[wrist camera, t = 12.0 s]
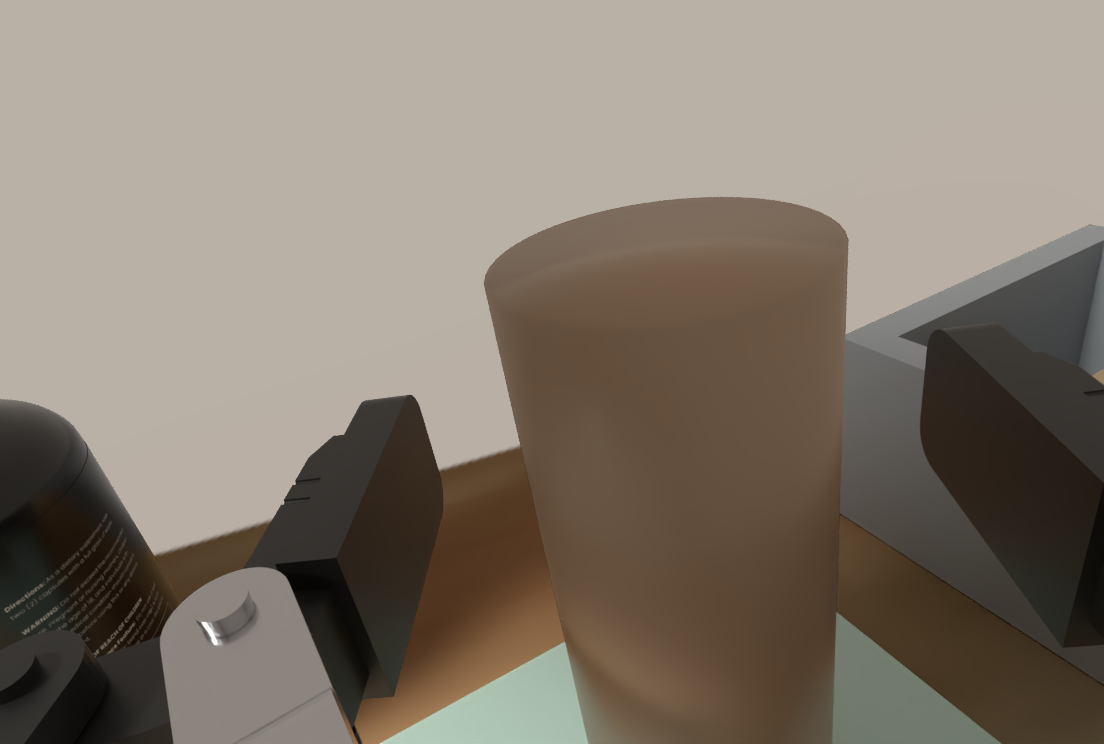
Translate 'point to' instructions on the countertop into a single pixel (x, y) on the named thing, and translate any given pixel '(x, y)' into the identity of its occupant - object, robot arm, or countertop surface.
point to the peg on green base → (688, 488)
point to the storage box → (895, 408)
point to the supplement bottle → (70, 542)
